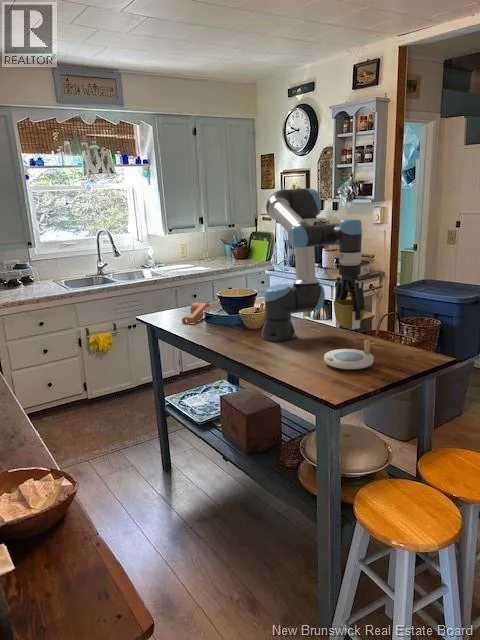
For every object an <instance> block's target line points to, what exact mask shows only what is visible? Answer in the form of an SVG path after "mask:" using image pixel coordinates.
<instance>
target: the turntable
mask: <svg viewBox="0 0 480 640" xmlns="http://www.w3.org/2000/svg"><path fill="white" fill-rule="evenodd" d="M363 347H364V350H360V349H356V348H354V349H353V348H341V349H340V348H339V349H333V350H330V351H327V352H326V353H324V355H323V363H325V364H327V365H328V366H330V367H333V368H334V367H336V368H335V369H337V368H342V369H360V370H362V369H361V368H363V369H366V368H368V367H371V366H372V365H373V364H374V361H375V360H374V355H373V354H371V352H370V351H371V349H370V348H371V340H369V339H366V340H364V346H363Z"/></svg>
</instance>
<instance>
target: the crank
mask: <svg viewBox="0 0 480 640" xmlns="http://www.w3.org/2000/svg"><path fill="white" fill-rule="evenodd" d="M190 306H191V307H190V316H184V317H182V319H181V323H182V324H183V323H186V322H187V323H195V322H197V321H198V320H200V319H201V318H202V317H203V310H204V309H205V308H206V307H209V306H210V307H211V305H210V303H209V302H208V303H207V302H193V303H192V304H191V305H190ZM197 323H198V322H197ZM195 324H196V323H195Z"/></svg>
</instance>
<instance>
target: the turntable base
mask: <svg viewBox="0 0 480 640" xmlns="http://www.w3.org/2000/svg"><path fill="white" fill-rule="evenodd" d="M333 368H334V369H337V370H341V371H361V370H363V369H364V368H361V369H342V368H336V367H333Z"/></svg>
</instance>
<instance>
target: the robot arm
mask: <svg viewBox="0 0 480 640" xmlns="http://www.w3.org/2000/svg"><path fill="white" fill-rule="evenodd" d="M265 209H266V213H267V215H268V216H269V217H270V218H271V220H274V221H277V222H278V223H279V224H280V226H281V227H283V229H284V230H285V231H286V233H288V236H287V237H288V243H289V245H290V246H291V247H292V248H294V260H295V280H294V281H293V283H292V286H293V287H291V285H290V284H286V283H283V284H281V283H280V284H275V285H272V286H269V287H268V288H266V289H265V290H264V298H263V300H264V324H263V327H262V331H261V338H262V339H263V340H265V341H267V342H275V343H276V342H278V343H279V342H286V341H291V340H293V339H295V337H296V331H295V327H294V324H293V322H292V314H299V313H300V314H301V313H308V312H310V313H312V312H316V311H320V310H321V309H322V308H323V306H324V303H325V297H326V296H325V294H326V293H325V292H326V291H325V288H324V286H323V285H322V284H320V281H319V280H318V279H317V277H316V258H315V256H316V255H315V247H323V246H326V247H327V246H339V255H338V258H339V259H338V260H339V261H338V262H339V263H340V264H339V265H338V275H339V277H336V289H335V297H334V298H335V299H334V301H337V300H347V297H348V294H350V299H352V303H353V308H354V310H352V327H351V329H352V330H356V329H361V323H360V314H361V310H364V311H365V309H366V304H365V305H364V303H365V297H364V281H359V279H358V276H360V275H361V271H362V268H361V267H362V265H361V263H362V241H363V240H362V235H363V234H362V233H363V228H362V227H363V226H362V221H361V219H354V218H353V219H352V218H350V219H349V218H348V219H341V220H340V222H339V223H330V224H321V225H320V224H318V225H314V223H315V222H316V221H317V216H319V215H320V214H321V212H322V211H321V209H322V202H321V196H320V195H319V193H318V192H317V190H316V189H314V188H306V187H305V188H293V189H292V188H291V189H290V188H289V189H279V190H277V191H274V192H273V193H272V194H271V195H270V196H269V198H268V199H267V201H266V205H265Z"/></svg>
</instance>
